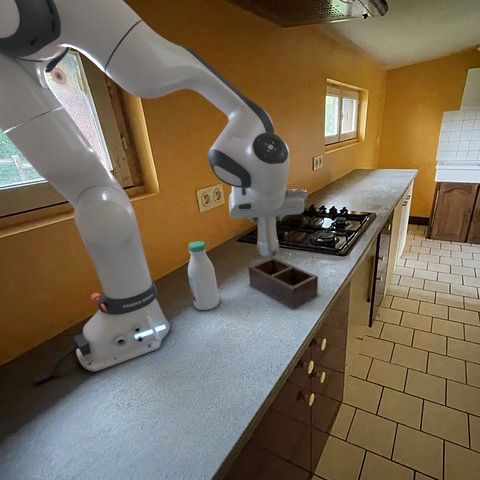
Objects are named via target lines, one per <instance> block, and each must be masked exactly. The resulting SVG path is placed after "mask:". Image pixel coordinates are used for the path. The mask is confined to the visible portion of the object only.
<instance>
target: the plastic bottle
mask: <svg viewBox="0 0 480 480" xmlns="http://www.w3.org/2000/svg"><path fill="white" fill-rule="evenodd" d="M256 227H257V241H256V249H257V253H258V254H259V255H260V256H262V257H274V256H276V255H277V254H278V253H279V251H280V243H279V239H278V233H277V220H276V216H265V217H256Z"/></svg>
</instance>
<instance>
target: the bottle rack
mask: <svg viewBox="0 0 480 480" xmlns="http://www.w3.org/2000/svg"><path fill="white" fill-rule="evenodd" d="M248 274H249V275H248V276H249V286H250V287H252V288H254V289H255V290H257V291H259V292H261V293H263V294H264V295H267V296H268V297H270V298H272V299H273V300H275V301H276V302H279V303H281V304H282V305H284V306H286V307H288V308H290V309H291V310H295V309H297V308H298V307H300V306H302V305H304V304H306V303H307V302H309V301H311V300H312V299H315V297H317V296H318V291H319V290H318V285H319V276H318V275H316V274H313V273H311V272H309V271H306V270H305V269H302V268H300V267H297V266H294V265H293V264H290V263H287V262H285V261H283V260H280V259H278V258H276V257H269V258H268V259H266V260H263V261H260V262H258V263H256V264H254V265H251V266H248Z"/></svg>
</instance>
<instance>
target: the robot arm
mask: <svg viewBox="0 0 480 480" xmlns="http://www.w3.org/2000/svg"><path fill="white" fill-rule="evenodd" d="M71 48H72V49H75V50H77V51H78V52H80V53H82V54H83V55H85V56H86V57H87V58H88V59H89V60H90V61H92V63H94V64H95V65H96V66H97V67H98V68H99V69H100V70H101V71H102V72H103V73H105V74H106V75H107V76H108V77H109V78H110V79H111V80H112V81H114V83H116V84H117V85H118V86H119V87H120V88H121V89H123V90H124V91H126V92H127V93H129V94H130V95H132V96H134V97H137V98H141V99H147V100H148V99H150V100H151V99H158V98H162V97H164V96H165V97H166V96H167V95H169V94H171V93H175V92H177V91H181V90H192V91H195V92H197V93H199V94H200V95H201V96H202V97H204V98H205V99H206V100H207V101H209V102H210V103H211V104H212V105H214V106H215V107H216V108H217V109H218V110H220V111H221V112H222V113H223V114H225V115H226V117H227V119H228V122H227V124H226V125H225V126H224V128H223V130H222V131H221V133H220V134H219V135H218V136H217V138H216V140H215V141H214V142H213V144H212V145H211V147H210V148H209V149H208V151H207V161H208V164H209V167H210V169H211V171H212V172H213V174H214V175H215V177H216V178H217V179H218V180H220V182H222V183H224V184H226V185H227V186H230V187H231V192H230V194H229V197H228V213H229V218H230V219H233V220H238V219H247V220H249V221H250V223H251V224H253V223H257V220H256V217H265V216H276V222H277V221H282V220H283V218H285V217H286V216H290V215H291V216H292V215H302V214H303V213H304V211H305V201H306V200H307V198H308V196H309V192H308V191H307V190H304V189H302V188H292V189H289V188H287V187H288V185H287V182H288V180H289V175H290V165H291V157H290V155H291V154H290V151H289V147H288V145H287V144H286V143H287V142H285V141H284V139H283V138H282V137H281V136H279V135H278V134H276V133H275V129H274V124H273V121H272V118H271V115H270V114H269V113H268V111H266V110H265V109H264V108H263V107H262V106H260V105H258V103H256V102H254V101H252V100H251V99H250V98H248V97H247V96H245V94H243V92H241V90H239V89H238V88H236V86H234V84H232V83H231V82H230V81H229V80H228V79H226V78H225V77H224V76H223V75H222V73H220V72H219V71H218V70H216V69H215V68H214V66H213V65H211V64H210V63H208V61H206V60H205V59H204V58H203V57H201V56H200V55H199V54H198V53H197V52H195V51H194V50H192V49H191V48H190V47H188V46H186V45H184V44H178V43H177V44H175V43H174V42H171V41H169V40H168V39H166V38H164V37H163V36H161V35H160V34H159V33H157V32H156V31H155V30H153V29H152V28H151V27H150V26H149V25H148V24H147V23H146V22H145V21H144V20H143V19H142V18H141V16H139V15H138V14H137V13H136V12H135V10H134V9H133V8H131V7H130V6H129V5H128V4H127V3H126V2H125V1H124V0H0V130H1V131H2V132H3V134H4V136H6V137H7V138H8V139H9V141H10V142H11V143H12V144H13V145H14V146H15V148H16V149H17V150H18V151H19V152H20V154H21V155H22V156H23V157H24V158H25V160H27V161H26V162H28V164H30V165H31V166H32V168H33V169H34V170H35V171H36V173H37V174H38V175H39V176H40V177H42V178H43V179H44V180H45V181H46V182H47V183H49V184H50V185H51V186H52V187H53V188H54V189H55V190H56V191H57V192H58V193H59V194H60V195H61V196H62V197H63V198H65V200H66V201H67V202H68V203H69V204H70V205H71V207H73V209H74V210H73V220H74V223H75V226H76V228H77V231H78V233H79V235H80V239H81V240H82V243H83V245H84V247H85V249H86V252H87V254H88V255H89V257H90V260H91V262H92V264H93V266H94V269H95V272H96V275H97V278H98V280H99V282H100V286H101V289H102V291H103V292H102V293H101V294H100V293H98V292H94V293H93V294H91V296H90V299H91V300H92V302H93V303H95V304H97V306H98V310H97V311H96V312H95V314H93V316H92V317H91V318H90V319H89V320H88V321H87V322H86V323H85V324H84V326H83V328H82V333H79V334H78V335H75V336H73V340H74V342H75V343H74V344H75V345H74V346H72V347H71V348H69V349H68V350H66V351H65V352H64V353H63V354H62V355H61V356H60V357H59V358H58V359H57V360H56V361H55V363H54V365H53V367H52V369H51V370H50V372H48V373H47V374H46V375H43V376H40V377H38V378H36V379H34V381H35V383H36V384H39V383H42V382H44V381H47V380H49V379H50V378H51V377H53V376H54V375H55V374H56V373H57V371H58V369H59V368H60V365H61V364H62V363H63V361H64V360H65V359H66V358H68V357H69V356H70V355H72V354H73V353H74V352H75V351H76V356H77V360H78V362H79V364H80V366H82V367H83V368H84V369H86V370H87V371H90V372H98V371H102V370H105V369H108V368H109V367H112V366H115V365H118V364H121V363H123V362H126V361H129V360H132V359H134V358H137V357H140V356H143V355H145V354H147V353H151V352H153V351H156V350H158V349H160V347H161V344H162V342H163V339H165V337H166V336H167V335H168V333H169V331H170V328H171V326H170V322H169V321H168V319H167V318H166V316H165V315H164V312H163V311H162V308H161V306H160V304H159V294H158V291H157V287H156V285H155V282H154V281H153V280H152V278H151V272H150V270H149V265H148V263H147V258H146V254H145V250H144V245H143V241H142V236H141V233H140V228H139V225H138V220H137V216H136V212H135V210H134V207H133V204H132V202H131V200H130V198H129V195H128V194H127V192H126V191H125V190H124V188H123V187H122V186H121V185H120V183H119V182H118V180H117V179H116V178H115V177H114V174H112V171H110V169H109V167H108V166H107V165H106V164H105V163H104V161H103V160H102V158H101V157H100V156H99V154H98V153H97V152H96V151H95V149H94V148H93V146H92V145H91V143H90V142H89V141H88V139H87V138H86V137H85V135H84V134H83V132H82V130H81V129H80V128H79V126H78V125H77V123H76V121H74V119H73V118H72V116H71V115H70V114H69V112H68V110H67V109H66V108H65V106H64V105H63V103H62V102H61V100H60V99H59V98H58V97H57V95H56V93H54V91H53V89H52V88H51V86H50V83H49V82H48V80H47V75H46V74H49V73H51V72H52V71H53V70H54V69H55V68H56V67H57V66H58V64H59V63H61V61H62V60H63V59H64V58H65V57H66V56H67V54H68V53H69V51H71Z"/></svg>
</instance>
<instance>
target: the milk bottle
mask: <svg viewBox="0 0 480 480" xmlns="http://www.w3.org/2000/svg"><path fill="white" fill-rule="evenodd" d="M187 247H188V252H189V254H190V258H189V262H188V266H187V275H188V277H187V278H188V281H189V288H190V292H191V298H192V304H193V306H194V308H195V309H197V310H200V311H209V310H212V309H214V308H216V307H217V306H218V304H219V302H220V299H219V297H220V296H219V291H218V285H217V284H218V283H217V278H216V272H215V268H214V265H213V263H212V261H211V260H210V259H209V257H208V255H207V253H206V251H207V249H206V244H205V242H204V241H200V240H198V241H192V242H189V244H188V245H187Z"/></svg>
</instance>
